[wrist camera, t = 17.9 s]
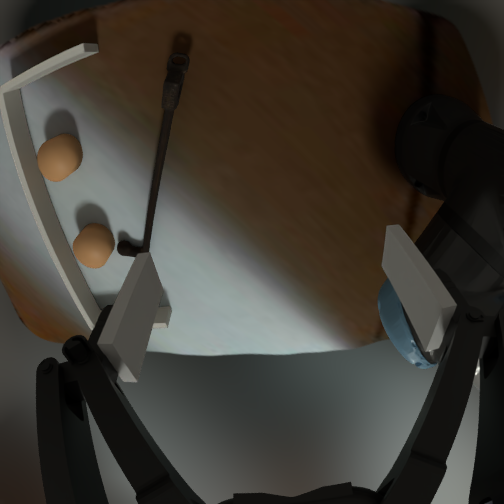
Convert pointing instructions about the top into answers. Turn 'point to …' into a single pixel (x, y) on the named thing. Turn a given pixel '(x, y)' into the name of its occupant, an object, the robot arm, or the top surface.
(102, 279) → the top surface
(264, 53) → the top surface
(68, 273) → the chip tray
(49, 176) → the puck
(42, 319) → the top surface
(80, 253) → the puck
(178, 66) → the black hooked stick
